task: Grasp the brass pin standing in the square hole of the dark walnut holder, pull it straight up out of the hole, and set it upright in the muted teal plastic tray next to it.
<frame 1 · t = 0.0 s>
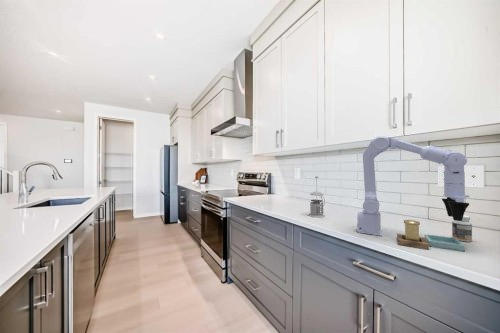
hand: (454, 218, 80), 10 cm above the worktop, fingers open, 7 cm apart
tray: (443, 244, 79), on the worktop
brass pin: (411, 232, 81), in the holder block
holder block: (411, 243, 80), on the worktop
pill bottle: (462, 240, 85), on the worktop
french press: (317, 216, 129), on the worktop
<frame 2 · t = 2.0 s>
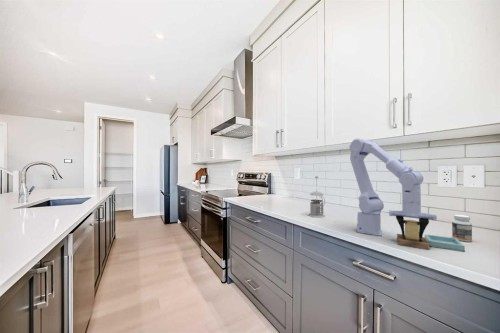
hand: (411, 236, 80), 3 cm above the worktop, fingers closed on brass pin, 5 cm apart
brass pin: (411, 232, 80), in the holder block, touching gripper
everything else where it was.
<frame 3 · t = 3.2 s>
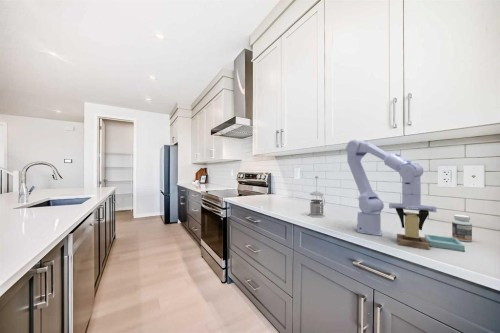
hand: (411, 228, 81), 6 cm above the worktop, fingers closed on brass pin, 5 cm apart
brass pin: (411, 224, 81), point 7 cm above the worktop, touching gripper
everything else where it was.
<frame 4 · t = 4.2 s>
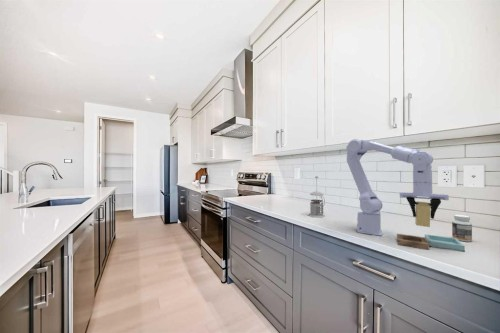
hand: (423, 217, 80), 10 cm above the worktop, fingers closed on brass pin, 5 cm apart
brass pin: (422, 213, 80), point 12 cm above the worktop, touching gripper
everything else where it was.
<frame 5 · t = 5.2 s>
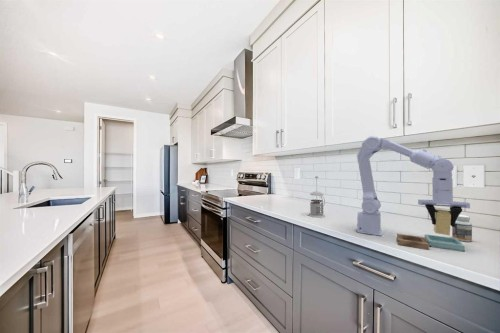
hand: (442, 225, 79), 8 cm above the worktop, fingers closed on brass pin, 5 cm apart
brass pin: (442, 221, 79), point 9 cm above the worktop, touching gripper
everything else where it was.
when the fingers open (4 cm above the worktop, at t = 6.2 s): brass pin stays where it is, resting on tray.
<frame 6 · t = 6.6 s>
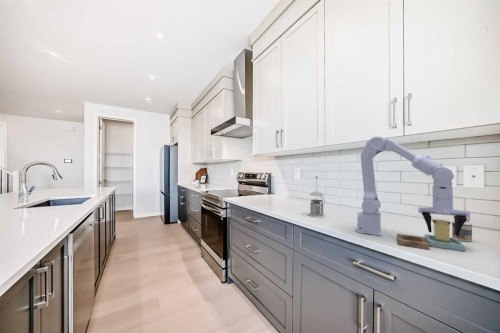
hand: (442, 233, 79), 4 cm above the worktop, fingers open, 7 cm apart
brass pin: (441, 232, 79), in the tray
everything else where it was.
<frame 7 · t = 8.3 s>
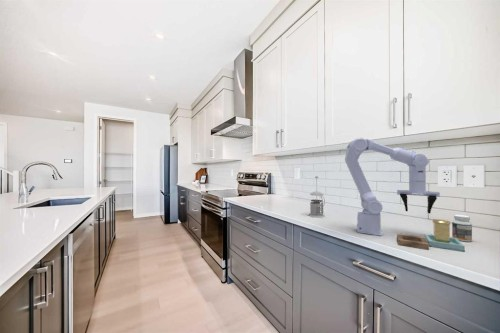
hand: (417, 211, 90), 10 cm above the worktop, fingers open, 7 cm apart
nothing on the worktop moved.
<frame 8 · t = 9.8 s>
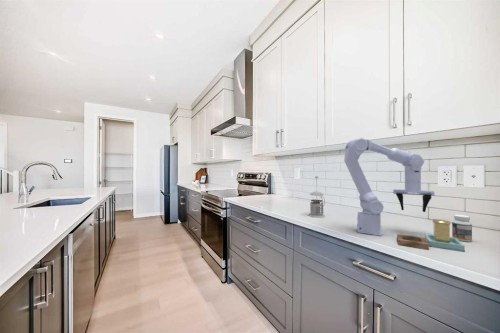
hand: (413, 210, 93), 10 cm above the worktop, fingers open, 7 cm apart
nothing on the worktop moved.
at the end: brass pin 0.5 cm off-centre on the tray, point 4.8 cm above the tray's base; brass pin tilted 0°; the gripper is holding nothing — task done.
